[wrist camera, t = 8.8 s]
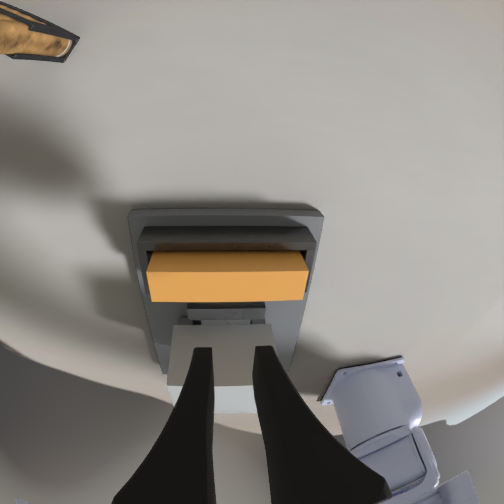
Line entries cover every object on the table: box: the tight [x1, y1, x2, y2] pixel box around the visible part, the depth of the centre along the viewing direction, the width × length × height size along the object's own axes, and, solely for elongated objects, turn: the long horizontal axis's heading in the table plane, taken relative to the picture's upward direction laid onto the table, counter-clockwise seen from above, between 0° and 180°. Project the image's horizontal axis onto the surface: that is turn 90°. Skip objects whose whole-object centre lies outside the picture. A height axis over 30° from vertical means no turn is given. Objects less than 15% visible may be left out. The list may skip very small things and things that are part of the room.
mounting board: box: [128, 208, 324, 374], centre depth 21 cm, size 12×16×1 cm
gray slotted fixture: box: [137, 226, 317, 325], centre depth 20 cm, size 10×14×2 cm
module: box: [167, 317, 278, 414], centre depth 19 cm, size 7×4×6 cm, turn 86°
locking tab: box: [146, 251, 309, 302], centre depth 16 cm, size 8×2×2 cm, turn 86°
